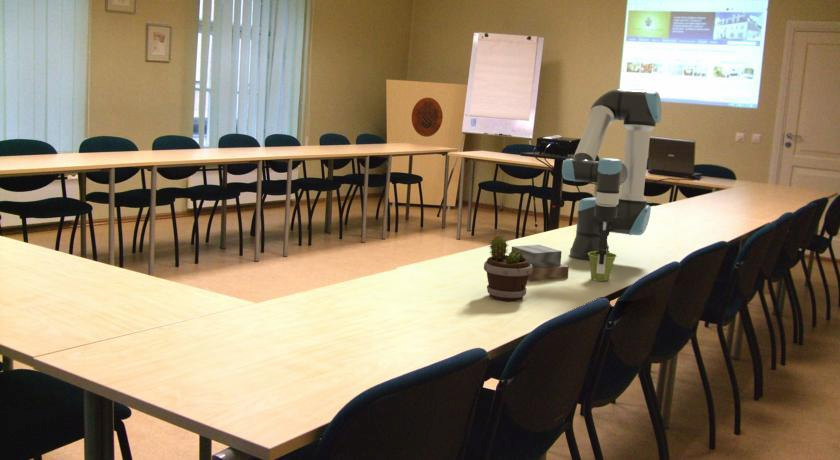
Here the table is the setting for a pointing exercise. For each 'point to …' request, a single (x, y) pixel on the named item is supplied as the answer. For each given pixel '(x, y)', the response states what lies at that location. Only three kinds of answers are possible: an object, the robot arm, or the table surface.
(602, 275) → the plant pot
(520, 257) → the flowerpot
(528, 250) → the pedestal
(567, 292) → the table surface
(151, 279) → the table surface
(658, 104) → the robot arm
